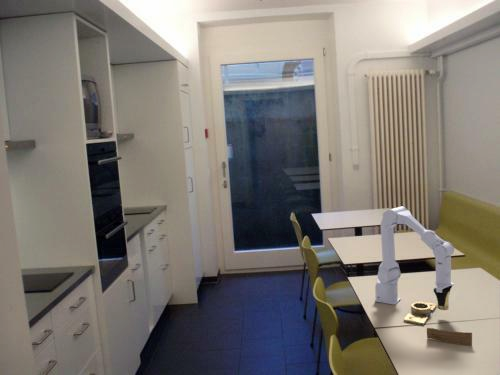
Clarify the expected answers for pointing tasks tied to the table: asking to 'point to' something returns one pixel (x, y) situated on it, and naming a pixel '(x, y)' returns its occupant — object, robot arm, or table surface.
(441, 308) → the hinge pin
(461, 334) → the wood plank
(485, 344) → the table surface
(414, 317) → the hinge
